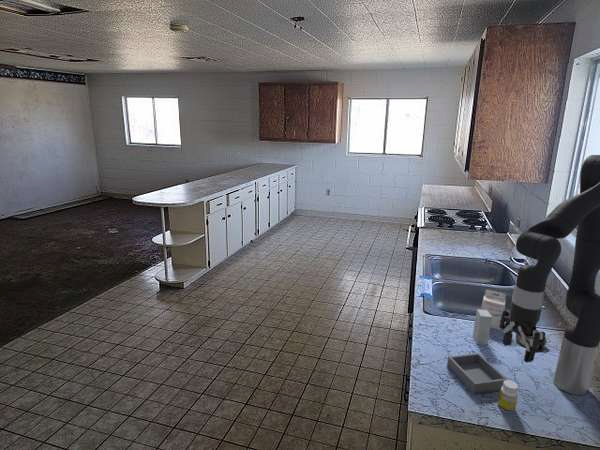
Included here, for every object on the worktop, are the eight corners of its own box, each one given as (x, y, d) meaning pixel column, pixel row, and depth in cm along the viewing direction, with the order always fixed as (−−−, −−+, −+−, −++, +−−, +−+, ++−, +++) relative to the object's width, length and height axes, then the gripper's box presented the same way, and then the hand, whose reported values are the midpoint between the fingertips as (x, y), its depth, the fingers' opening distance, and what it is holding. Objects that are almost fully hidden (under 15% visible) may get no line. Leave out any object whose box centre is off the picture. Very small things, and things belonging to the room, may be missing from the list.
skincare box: (487, 345, 155) (492, 317, 151) (476, 344, 155) (480, 316, 152) (483, 336, 160) (487, 309, 157) (472, 335, 161) (476, 308, 158)
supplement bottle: (500, 400, 125) (504, 376, 123) (516, 407, 122) (521, 383, 120) (495, 408, 121) (500, 384, 119) (512, 415, 118) (517, 391, 116)
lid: (548, 343, 157) (550, 332, 156) (541, 353, 150) (544, 342, 149) (518, 333, 164) (520, 322, 163) (511, 342, 157) (513, 331, 156)
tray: (476, 362, 143) (478, 353, 142) (506, 390, 129) (508, 379, 128) (446, 366, 141) (448, 356, 140) (473, 394, 127) (474, 384, 126)
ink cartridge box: (478, 324, 170) (483, 292, 166) (479, 319, 174) (484, 288, 170) (500, 330, 166) (506, 298, 162) (501, 325, 170) (507, 293, 166)
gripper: (559, 313, 106) (547, 366, 111) (520, 290, 120) (510, 338, 124) (534, 315, 105) (523, 369, 109) (498, 292, 118) (489, 340, 122)
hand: (516, 352), depth 117 cm, fingers open, 8 cm apart
